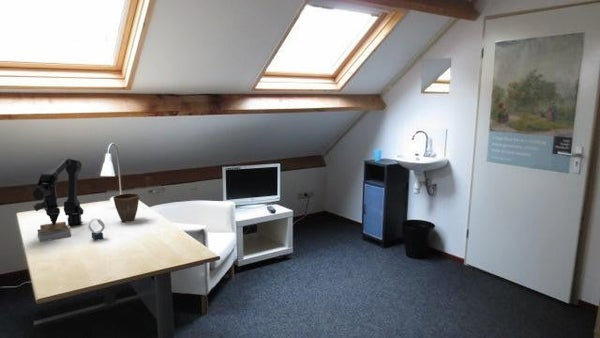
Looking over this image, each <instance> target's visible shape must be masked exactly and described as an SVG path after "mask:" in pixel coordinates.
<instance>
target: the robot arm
mask: <svg viewBox="0 0 600 338" xmlns="http://www.w3.org/2000/svg"><path fill="white" fill-rule="evenodd" d="M82 166H83V165H82V162H81V161H80V160H78V159H77V160H76V159H71V158H69V157H67V158H66V157H62V158H60V159H59V161H58V162H57V163H56V164H55V165H54V166H52V168H51V169H50V170H47V171H44V172H43V173H41V174H40V176H39V180H38V182H37V184H36V187H35V190H33V191H32V197H33V199H35V200H38V201H39V202H36V203H34V204H32V207H33V209H34V211H35V212H37V211H40V210H42V209H44V211H45V214H46V216H48V217H49V219H50V221H51V223H52V224H53V225H55V223H57V221H58V218H59V215H60V213H61V209H60V207H59V205H58V196H57V189H56V188H57V187H58V183H57V182H58V180H59V175H60V174H61V173H62V172H64V171H65V172H66V174H67V175H68V178H67V183H68V184H67V185H68V186H67V199H66V200H65V201H64V202H63V212H64V214H65V216H67V227H68V226H70V227H72V226H81V225H82V223H83V221H82V215H83V214H84V211H85V210H84V209H83V208H82V206H81V202H80V201H79V199H78V180H79V179H78V175H79V174H80V172H81V171H82Z"/></svg>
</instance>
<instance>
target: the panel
mask: <svg viewBox="0 0 600 338" xmlns="http://www.w3.org/2000/svg"><path fill="white" fill-rule="evenodd" d="M66 225H67V224H66V221H59V222H56V223H55V225H53V224H52V222H51V223H45V224H44V223H43V224H40V225H39V226H40V229H41V233H48V232H54V231H61V230H66Z"/></svg>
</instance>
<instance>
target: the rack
mask: <svg viewBox="0 0 600 338" xmlns="http://www.w3.org/2000/svg"><path fill="white" fill-rule="evenodd" d="M71 231H72V230H71V226H68V224H66V230H61V231H54V232H48V233H41V228H40V229H37V235H38V238H39V242H46V241H53V240H58V239H64V238H70V237H72V233H71Z"/></svg>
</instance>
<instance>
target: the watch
mask: <svg viewBox="0 0 600 338" xmlns="http://www.w3.org/2000/svg"><path fill="white" fill-rule="evenodd" d="M94 221H97V223H98V224H99V225H100V226H101V228H100V230H98V231H94V230H93V229H92V226H91V224H92V223H93V222H94ZM87 225H88V229H89V230H90V232H91V239H92V238H93V239H92V240H94V241H98V239H99V240H103V239H104V233H103V231H104V229H105V228H106V225H105V223H104V222H103V221H102V219H101V218H92V219H91V220H90V221H89V222H88V224H87Z"/></svg>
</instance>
